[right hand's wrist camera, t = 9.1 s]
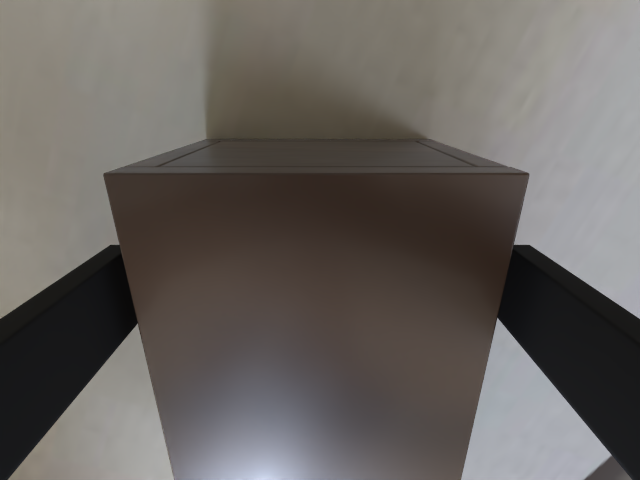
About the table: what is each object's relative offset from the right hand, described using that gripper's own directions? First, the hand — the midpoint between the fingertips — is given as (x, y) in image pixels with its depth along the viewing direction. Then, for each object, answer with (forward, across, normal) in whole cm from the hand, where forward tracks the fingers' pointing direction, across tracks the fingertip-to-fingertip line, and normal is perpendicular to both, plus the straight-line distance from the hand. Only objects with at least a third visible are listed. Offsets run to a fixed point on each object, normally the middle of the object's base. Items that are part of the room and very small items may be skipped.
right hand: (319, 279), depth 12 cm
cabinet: (+5, 0, -4) cm, 6 cm away
